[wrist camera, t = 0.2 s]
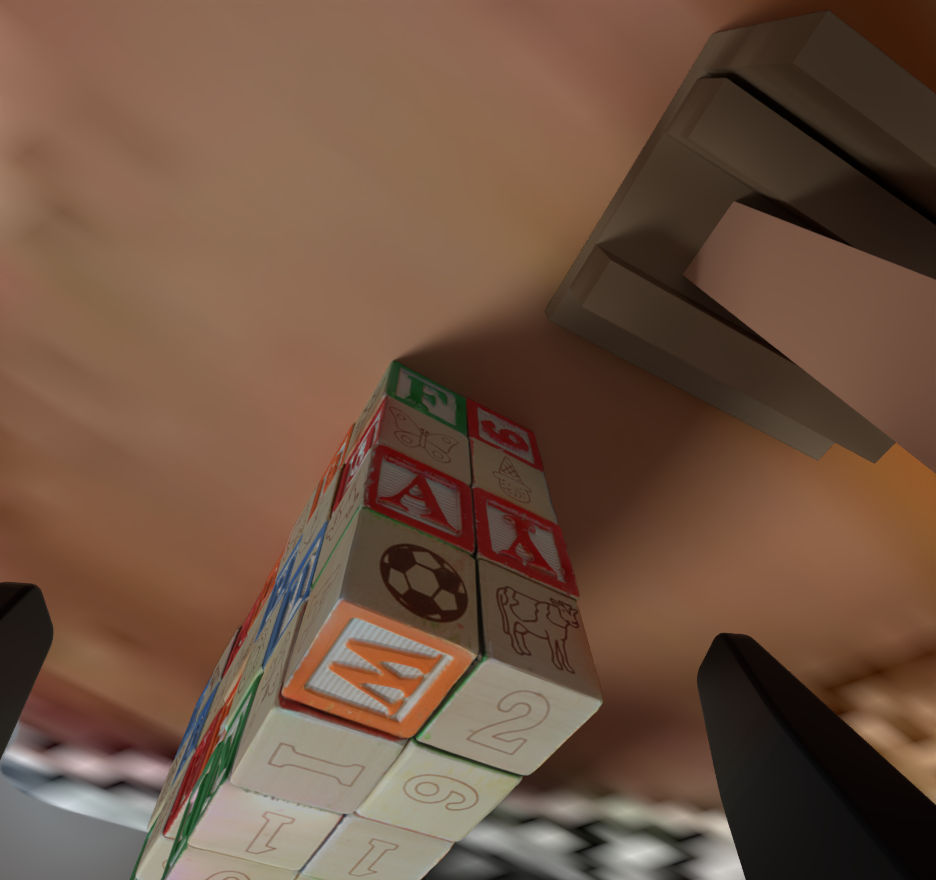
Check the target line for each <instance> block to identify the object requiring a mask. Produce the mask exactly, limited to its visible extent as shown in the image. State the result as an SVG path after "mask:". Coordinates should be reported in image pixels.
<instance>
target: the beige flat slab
mask: <svg viewBox="0 0 936 880" xmlns="http://www.w3.org/2000/svg"><path fill="white" fill-rule="evenodd" d="M683 276H685V277H686V278H687V279H689V280H690V281H691V282H692V283H694V284H695V285H696V286H697V287H699V288H700V289H701V290H703V291H704V292H705V293H706V294H708V295H709V296H710V297H711V298H713V299H714V300H715V301H717V302H718V303H719V304H720V305H722V306H723V307H724V308H725V309H727V310H728V311H729V312H731V313H732V314H733V315H734V316H736V317H737V318H738V319H740V320H741V321H742V322H743V323H745V324H746V325H747V326H748V327H750V328H751V329H752V330H754V331H755V332H756V333H757V334H759V335H760V336H761V337H762V338H764V339H765V340H766V341H768V342H769V343H770V344H771V345H773V346H774V347H775V348H776V349H778V350H779V351H780V352H782V353H783V354H784V355H785V356H787V357H788V358H789V359H790V360H792V361H793V362H794V363H796V364H797V365H798V366H799V367H801V368H802V369H803V370H805V371H806V372H807V373H808V374H810V375H811V376H812V377H813V378H815V379H816V380H817V381H819V382H820V383H821V384H822V385H824V386H825V387H826V388H827V389H829V390H830V391H831V392H833V393H834V394H835V395H836V396H838V397H839V398H840V399H841V400H843V401H844V402H845V403H847V404H848V405H849V406H850V407H852V408H853V409H854V410H856V411H857V412H858V413H859V414H861V415H862V416H863V417H864V418H866V419H867V420H868V421H870V422H871V423H872V424H873V425H875V426H876V427H877V428H878V429H880V430H881V431H882V432H884V433H885V434H886V435H887V436H889V437H890V438H891V439H892V440H894V441H895V442H896V443H898V444H899V445H900V446H901V447H903V448H904V449H905V450H906V451H908V452H909V453H910V454H912V455H913V456H914V457H915V458H917V459H918V460H919V461H921V462H922V463H923V464H924V465H926V466H927V467H928V468H929V469H931V470H932V471H933V472H935V473H936V280H935V279H932V278H930V277H927V276H925V275H922V274H919V273H917V272H914V271H912V270H909V269H907V268H904V267H902V266H899V265H896V264H894V263H891V262H889V261H886V260H884V259H881V258H878V257H876V256H873V255H871V254H868V253H866V252H863V251H860V250H858V249H855V248H853V247H850V246H848V245H845V244H843V243H840V242H837V241H835V240H832V239H830V238H827V237H825V236H822V235H819V234H817V233H814V232H812V231H809V230H807V229H804V228H801V227H799V226H796V225H794V224H791V223H789V222H786V221H784V220H781V219H778V218H776V217H773V216H771V215H768V214H766V213H763V212H760V211H758V210H755V209H753V208H750V207H748V206H745V205H742V204H740V203H737V202H735V201H734V202H733V203H732V204H731V206H730V207H729V209H728V210H727V212H726V213H725V215H724V216H723V217H722V219H721V220H720V222H719V223H718V225H717V226H716V228H715V229H714V230H713V232H712V233H711V235H710V236H709V238H708V239H707V240H706V242H705V243H704V245H703V246H702V248H701V249H700V251H699V252H698V253H697V255H696V256H695V258H694V259H693V261H692V262H691V263H690V265H689V266H688V268H687V269H686V271H685V272H684V274H683Z"/></svg>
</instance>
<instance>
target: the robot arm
mask: <svg viewBox="0 0 936 880" xmlns="http://www.w3.org/2000/svg"><path fill="white" fill-rule="evenodd" d="M52 640H53V625H52V621H51V618H50V615H49V612H48V609H47V606H46V603H45V600H44V597H43V594H42V591H41V589H40V588H39V587H38V586H37V585H35V584H31V583H17V582H2V583H0V759H1V757H2V755H3V753H4V751H5V748H6V746H7V744H8V742H9V740H10V737H11V735H12V733H13V731H14V728H15V726H16V724H17V722H18V719H19V717H20V715H21V713H22V710H23V708H24V706H25V703H26V701H27V699H28V697H29V694H30V692H31V690H32V688H33V685H34V683H35V681H36V679H37V676H38V674H39V672H40V669H41V667H42V665H43V663H44V660H45V658H46V656H47V654H48V651H49V649H50V647H51V644H52ZM697 685H698V691H699V696H700V701H701V706H702V711H703V716H704V720H705V725H706V730H707V735H708V740H709V745H710V750H711V755H712V760H713V765H714V769H715V774H716V779H717V783H718V788H719V792H720V796H721V800H722V803H723V807H724V810H725V814H726V817H727V821H728V824H729V827H730V830H731V834H732V837H733V840H734V843H735V846H736V850H737V853H738V856H739V859H740V863H741V866H742V869H743V872H744V876H745V879H746V880H936V805H935V804H934V803H933V802H932V801H931V800H930V799H929V798H928V797H927V796H925V795H924V794H923V793H922V792H921V791H920V790H919V789H918V788H917V787H916V786H914V785H913V784H912V783H911V782H910V781H909V780H908V779H907V778H906V777H905V776H904V775H902V774H901V773H900V772H899V771H898V770H897V769H896V768H895V767H894V766H893V765H891V764H890V763H889V762H888V761H887V760H886V759H885V758H884V757H883V756H882V755H880V754H879V753H878V752H877V751H876V750H875V749H874V748H873V747H872V746H871V745H869V744H868V743H867V742H866V741H865V740H864V739H863V738H862V737H861V736H860V735H858V734H857V733H856V732H855V731H854V730H853V729H852V728H851V727H850V726H849V725H847V724H846V723H845V722H844V721H843V720H842V719H841V718H840V717H839V716H838V715H837V714H835V713H834V712H833V711H832V710H831V709H830V708H829V707H828V706H827V705H826V704H824V703H823V702H822V701H821V700H820V699H819V698H818V697H817V696H816V695H815V694H813V693H812V692H811V691H810V690H809V689H808V688H807V687H806V686H805V685H804V684H802V683H801V682H800V681H799V680H798V679H797V678H796V677H795V676H794V675H793V674H791V673H790V672H789V671H788V670H787V669H786V668H785V667H784V666H783V665H782V664H780V663H779V662H778V661H777V660H776V659H775V658H774V657H773V656H772V655H771V654H770V653H768V652H767V651H766V650H765V649H764V648H763V647H762V646H761V645H760V644H759V643H757V642H756V641H755V640H754V639H753V638H751V637H750V636H747V635H744V634H732V633H720V634H719V635H717V636H716V637H715V638H714V640H713V642H712V644H711V646H710V648H709V650H708V652H707V654H706V656H705V658H704V660H703V662H702V664H701V666H700V668H699V671H698V675H697ZM421 880H426V875H425V876H424V877H423V878H422V879H421Z"/></svg>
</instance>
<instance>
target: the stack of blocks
mask: <svg viewBox="0 0 936 880" xmlns="http://www.w3.org/2000/svg"><path fill="white" fill-rule="evenodd" d="M544 474H545V472H544V467H543V464H542V460H541V456H540V454H539V450H538V446H537V442H536V438H535V435H534V433H533V432H532V431H530V430H528V429H526V428H524V427H522V426H521V425H519V424H517V423H515V422H513V421H511V420H509V419H507V418H505V417H503V416H501V415H500V414H498V413H496V412H494V411H492V410H490V409H488V408H486V407H484V406H482V405H480V404H478V403H476V402H474V401H473V400H471V399H467V398H464V397H462V396H460V395H458V394H456V393H454V392H453V391H451V390H449V389H447V388H445V387H443V386H441V385H439V384H437V383H436V382H434V381H432V380H430V379H428V378H426V377H424V376H422V375H420V374H419V373H417V372H415V371H413V370H411V369H409V368H407V367H405V366H403V365H402V364H400V363H398V362H396V361H392V362H391V363H390V364H389V366H388V368H387V370H386V371H385V373H384V375H383V377H382V378H381V380H380V382H379V384H378V385H377V387H376V389H375V391H374V392H373V394H372V396H371V397H370V399H369V401H368V403H367V404H366V406H365V408H364V409H363V411H362V413H361V415H360V416H359V418H358V420H357V422H356V423H355V424H353V425H352V426H351V428H350V429H349V431H348V433H347V435H346V437H345V438H344V440H343V442H342V443H341V445H340V447H339V449H338V450H337V452H336V454H335V456H334V458H333V459H332V461H331V463H330V465H329V466H328V468H327V470H326V472H325V473H324V475H323V477H322V479H321V481H320V483H319V484H318V486H317V487H316V489H315V491H314V492H313V494H312V495H311V497H310V499H309V501H308V502H307V504H306V506H305V508H304V509H303V511H302V513H301V515H300V517H299V518H298V520H297V522H296V524H295V525H294V527H293V529H292V531H291V533H290V536H289V539H288V542H287V545H286V547H285V549H284V551H283V553H282V555H281V556H280V558H279V560H278V561H277V563H276V565H275V567H274V568H273V570H272V572H271V574H270V575H269V577H268V579H267V581H266V583H265V586H264V588H263V591H262V592H261V594H260V596H259V597H258V599H257V601H256V603H255V604H254V606H253V608H252V610H251V612H250V613H249V615H248V617H247V619H246V620H245V622H244V624H243V626H242V628H240V629H238V630H237V631H236V632H235V634H234V636H233V638H232V639H231V641H230V643H229V645H228V646H227V648H226V650H225V652H224V653H223V655H222V657H221V659H220V661H219V662H218V664H217V666H216V668H215V670H214V673H213V675H212V677H211V678H210V680H209V682H208V684H207V685H206V687H205V689H204V691H203V693H202V695H201V696H200V698H199V700H198V702H197V704H196V706H195V709H194V711H193V714H192V717H191V719H190V722H189V725H188V727H187V730H186V732H185V734H184V737H183V739H182V742H181V744H180V747H179V749H178V752H177V754H176V756H175V760H174V762H173V764H172V765H171V768H170V770H169V773H168V775H167V778H166V781H165V783H164V786H163V788H162V791H161V793H160V796H159V798H158V801H157V803H156V806H155V808H154V811H153V814H152V816H151V819H150V821H149V824H148V827H147V830H148V832H149V833H148V835H147V837H146V839H145V842H144V845H143V847H142V850H141V852H140V855H139V857H138V860H137V862H136V865H135V867H134V869H133V872H132V875H131V878H130V880H421V879H422V878H423V877H424V876H425V875H426V874H427V873H428V872H429V871H430V869H431V868H433V867H434V866H435V865H436V864H437V863H438V862H439V861H440V860H441V859H442V858H443V857H444V856H445V855H446V854H447V853H448V851H449V850H450V849H451V848H452V846H453V844H454V843H455V842H457V841H460V840H462V839H463V838H464V837H465V836H466V835H468V834H469V833H470V832H471V831H472V830H473V828H474V827H475V826H476V825H477V824H478V823H479V822H480V821H481V820H482V819H483V818H484V817H486V816H487V815H488V814H489V813H490V812H491V811H492V810H493V809H494V808H495V807H496V806H497V805H498V804H499V803H500V802H501V801H502V800H503V799H504V798H505V797H506V796H507V795H508V794H509V793H510V792H511V791H512V790H513V789H514V787H516V786H517V785H518V784H519V783H520V781H521V780H522V777H523V775H529V774H531V773H533V772H534V771H535V770H536V769H538V768H539V767H540V766H541V765H542V764H543V763H544V762H545V761H546V760H547V759H548V758H549V757H550V756H551V755H552V754H553V753H554V752H555V751H556V750H557V749H558V748H559V747H560V746H561V745H562V744H563V743H564V742H565V741H566V740H568V739H569V738H570V737H571V736H572V735H573V734H574V733H575V732H576V731H577V730H578V729H579V728H580V727H581V726H582V725H583V724H584V723H585V722H586V721H587V720H588V719H590V718H591V717H592V716H593V715H594V714H595V713H596V712H597V711H598V710H599V708H600V706H601V705H602V703H603V699H602V692H601V687H600V683H599V679H598V675H597V672H596V668H595V665H594V661H593V658H592V654H591V650H590V647H589V643H588V639H587V636H586V632H585V629H584V625H583V622H582V618H581V615H580V611H579V608H578V606H577V604H576V602H577V600H578V598H579V591H578V587H577V584H576V581H575V575H574V572H573V569H572V565H571V560H570V557H569V554H568V551H567V545H566V543H565V541H564V537H563V533H562V530H561V528H560V527H559V526H558V522H557V518H556V515H555V512H554V508H553V505H552V502H551V498H550V494H549V490H548V486H547V483H546V480H545V477H544Z"/></svg>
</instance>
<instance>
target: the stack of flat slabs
mask: <svg viewBox="0 0 936 880" xmlns="http://www.w3.org/2000/svg"><path fill="white" fill-rule="evenodd" d="M734 201H735V202H737V203H740V204H742V205H745V206H748V207H750V208H753V209H755V210H758V211H760V212H763V213H766V214H768V215H771V216H773V217H776V218H778V219H781V220H784V221H786V222H789V223H791V224H794V225H796V226H799V227H801V228H804V229H807V230H809V231H812V232H814V233H817V234H819V235H822V236H825V237H827V238H830V239H832V240H835V241H837V242H840V243H843V244H845V245H848V246H850V247H853V248H855V249H858V250H860V251H863V252H866V253H868V254H871V255H873V256H876V257H878V258H881V259H884V260H886V261H889V262H891V263H894V264H896V265H899V266H902V267H904V268H907V269H909V270H912V271H914V272H917V273H919V274H922V275H925V276H927V277H930V278H932V279H935V280H936V94H935V93H934V92H933V91H931V90H930V89H929V88H927V87H926V86H925V85H924V84H922V83H921V82H920V81H919V80H917V79H916V78H915V77H913V76H912V75H911V74H910V73H908V72H907V71H906V70H905V69H903V68H902V67H901V66H899V65H898V64H897V63H896V62H894V61H893V60H892V59H890V58H889V57H888V56H887V55H885V54H884V53H883V52H882V51H880V50H879V49H878V48H876V47H875V46H874V45H873V44H871V43H870V42H869V41H868V40H866V39H865V38H864V37H862V36H861V35H860V34H859V33H857V32H856V31H855V30H853V29H852V28H851V27H850V26H848V25H847V24H846V23H845V22H843V21H842V20H841V19H839V18H838V17H837V16H836V15H834V14H833V13H832V12H831V11H829V10H826V11H821V12H816V13H811V14H806V15H801V16H796V17H791V18H787V19H782V20H777V21H772V22H767V23H762V24H757V25H753V26H748V27H743V28H738V29H733V30H728V31H723V32H718V33H714V34H712V35H711V37H710V39H709V40H708V42H707V44H706V45H705V47H704V49H703V50H702V52H701V54H700V55H699V57H698V59H697V60H696V62H695V63H694V65H693V67H692V68H691V70H690V72H689V73H688V75H687V77H686V78H685V80H684V82H683V83H682V85H681V87H680V88H679V90H678V92H677V93H676V95H675V97H674V98H673V100H672V102H671V103H670V105H669V106H668V108H667V110H666V111H665V113H664V115H663V116H662V118H661V120H660V121H659V123H658V125H657V126H656V128H655V130H654V131H653V133H652V135H651V136H650V138H649V140H648V141H647V143H646V145H645V146H644V148H643V150H642V151H641V153H640V154H639V156H638V158H637V159H636V161H635V163H634V164H633V166H632V168H631V169H630V171H629V173H628V174H627V176H626V178H625V179H624V181H623V183H622V184H621V186H620V188H619V189H618V191H617V193H616V194H615V196H614V197H613V199H612V201H611V202H610V204H609V206H608V207H607V209H606V211H605V212H604V214H603V216H602V217H601V219H600V221H599V222H598V224H597V226H596V227H595V229H594V231H593V232H592V234H591V236H590V237H589V239H588V241H587V242H586V244H585V245H584V247H583V249H582V250H581V252H580V254H579V255H578V257H577V259H576V260H575V262H574V264H573V265H572V267H571V269H570V270H569V272H568V274H567V275H566V277H565V279H564V280H563V282H562V284H561V285H560V287H559V288H558V290H557V292H556V293H555V295H554V297H553V298H552V300H551V302H550V303H549V305H548V307H547V308H546V310H545V312H546V315H547V317H548V319H549V321H551V322H553V323H555V324H557V325H559V326H561V327H563V328H564V329H566V330H568V331H570V332H572V333H574V334H576V335H578V336H580V337H582V338H584V339H586V340H587V341H589V342H591V343H593V344H595V345H597V346H599V347H601V348H603V349H605V350H607V351H609V352H610V353H612V354H614V355H616V356H618V357H620V358H622V359H624V360H626V361H628V362H630V363H632V364H633V365H635V366H637V367H639V368H641V369H643V370H645V371H647V372H649V373H651V374H653V375H655V376H656V377H658V378H660V379H662V380H664V381H666V382H668V383H670V384H672V385H674V386H676V387H678V388H679V389H681V390H683V391H685V392H687V393H689V394H691V395H693V396H695V397H697V398H699V399H701V400H702V401H704V402H706V403H708V404H710V405H712V406H714V407H716V408H718V409H720V410H722V411H724V412H725V413H727V414H729V415H731V416H733V417H735V418H737V419H739V420H741V421H743V422H745V423H747V424H748V425H750V426H752V427H754V428H756V429H758V430H760V431H762V432H764V433H766V434H768V435H770V436H771V437H773V438H775V439H777V440H779V441H781V442H783V443H785V444H787V445H789V446H791V447H793V448H794V449H796V450H798V451H800V452H802V453H804V454H806V455H808V456H810V457H812V458H814V459H816V460H817V461H818V460H819V459H820V458H821V457H822V456H823V455H824V454H825V452H826V451H827V450H828V449H829V448H830V447H831V446H832V445H833V444H834V443H837V444H839V445H841V446H843V447H844V448H846V449H848V450H850V451H852V452H854V453H856V454H858V455H859V456H861V457H863V458H865V459H867V460H869V461H871V462H872V463H874V464H875V463H876V462H877V461H878V460H879V459H880V458H881V457H882V456H883V455H884V454H885V453H886V452H887V451H888V450H889V449H890V448H891V447H892V446H893V445H894V444H895V443H896V442H895V441H894V440H892V439H891V438H890V437H889V436H887V435H886V434H885V433H884V432H882V431H881V430H880V429H878V428H877V427H876V426H875V425H873V424H872V423H871V422H870V421H868V420H867V419H866V418H864V417H863V416H862V415H861V414H859V413H858V412H857V411H856V410H854V409H853V408H852V407H850V406H849V405H848V404H847V403H845V402H844V401H843V400H841V399H840V398H839V397H838V396H836V395H835V394H834V393H833V392H831V391H830V390H829V389H827V388H826V387H825V386H824V385H822V384H821V383H820V382H819V381H817V380H816V379H815V378H813V377H812V376H811V375H810V374H808V373H807V372H806V371H805V370H803V369H802V368H801V367H799V366H798V365H797V364H796V363H794V362H793V361H792V360H790V359H789V358H788V357H787V356H785V355H784V354H783V353H782V352H780V351H779V350H778V349H776V348H775V347H774V346H773V345H771V344H770V343H769V342H768V341H766V340H765V339H764V338H762V337H761V336H760V335H759V334H757V333H756V332H755V331H754V330H752V329H751V328H750V327H748V326H747V325H746V324H745V323H743V322H742V321H741V320H740V319H738V318H737V317H736V316H734V315H733V314H732V313H731V312H729V311H728V310H727V309H725V308H724V307H723V306H722V305H720V304H719V303H718V302H717V301H715V300H714V299H713V298H711V297H710V296H709V295H708V294H706V293H705V292H704V291H703V290H701V289H700V288H699V287H697V286H696V285H695V284H694V283H692V282H691V281H690V280H689V279H687V278H686V277H685V276H683V274H684V272H685V271H686V269H687V268H688V266H689V265H690V263H691V262H692V261H693V259H694V258H695V256H696V255H697V253H698V252H699V251H700V249H701V248H702V246H703V245H704V243H705V242H706V240H707V239H708V238H709V236H710V235H711V233H712V232H713V230H714V229H715V228H716V226H717V225H718V223H719V222H720V220H721V219H722V217H723V216H724V215H725V213H726V212H727V210H728V209H729V207H730V206H731V204H732V203H733V202H734Z"/></svg>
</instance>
